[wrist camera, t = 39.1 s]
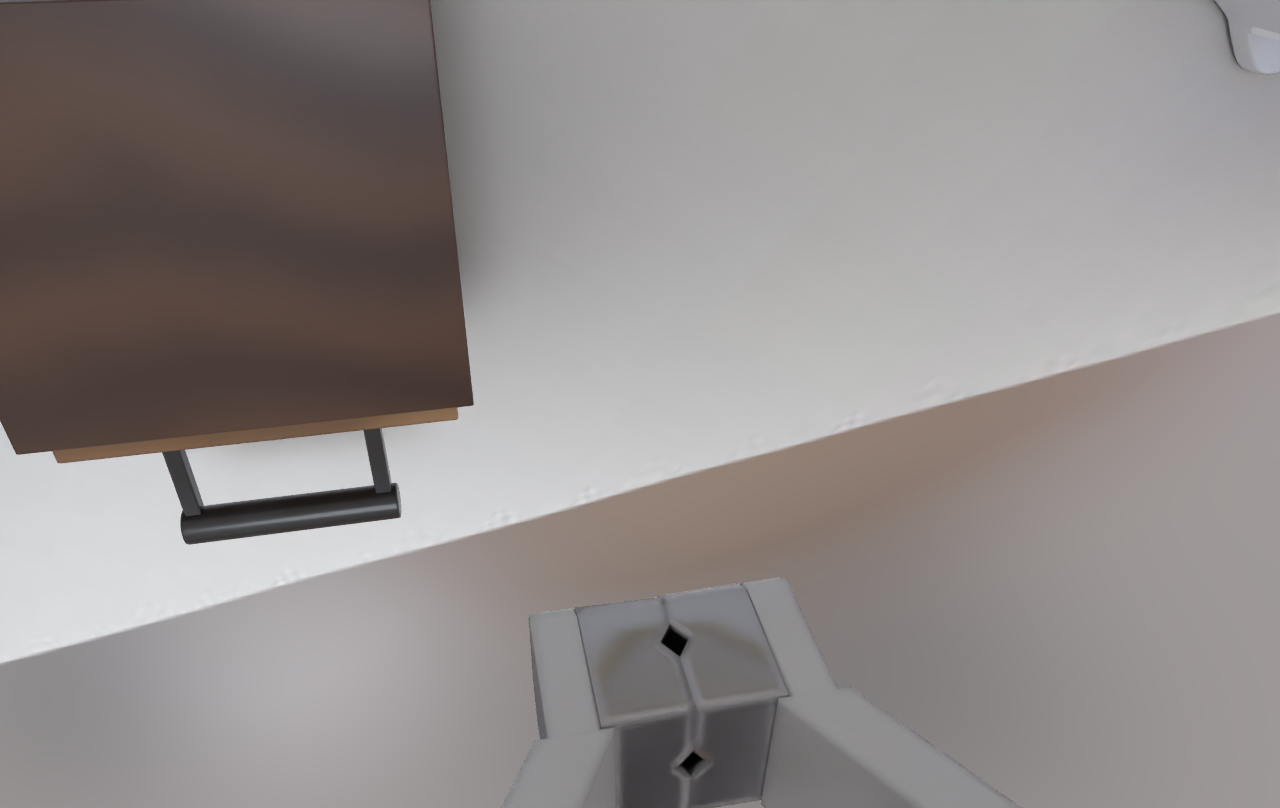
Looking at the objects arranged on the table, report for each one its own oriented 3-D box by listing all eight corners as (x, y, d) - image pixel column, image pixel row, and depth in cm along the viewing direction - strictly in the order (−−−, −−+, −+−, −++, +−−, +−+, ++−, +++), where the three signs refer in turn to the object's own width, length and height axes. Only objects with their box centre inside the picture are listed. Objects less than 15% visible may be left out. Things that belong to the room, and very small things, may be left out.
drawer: (461, 419, 43) (471, 527, 37) (147, 453, 41) (106, 575, 35) (412, 8, 33) (415, 69, 27) (-13, 22, 30) (-110, 93, 24)
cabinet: (459, 283, 40) (474, 406, 33) (88, 314, 37) (15, 455, 30) (421, -70, 32) (428, -11, 25) (-53, -61, 29) (-198, 8, 22)
